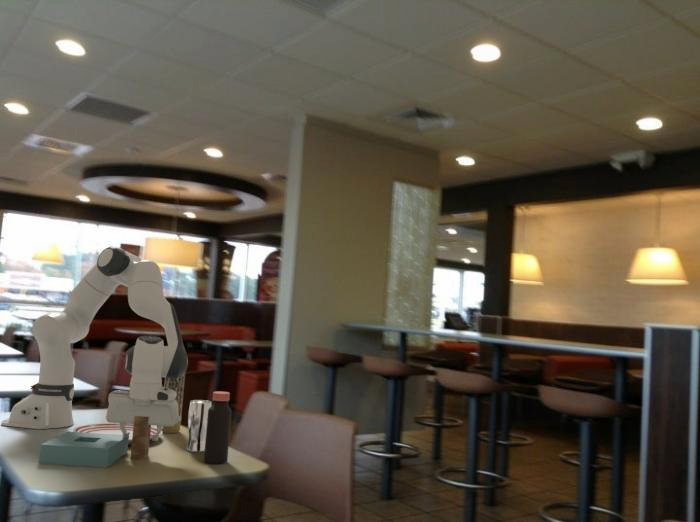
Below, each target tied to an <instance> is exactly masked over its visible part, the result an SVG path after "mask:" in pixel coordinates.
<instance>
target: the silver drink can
mask: <svg viewBox="0 0 700 522" xmlns="http://www.w3.org/2000/svg"><path fill="white" fill-rule="evenodd" d="M211 406H212V401H210V400H204V399H193V400H190V401H189V408H188V415H187V425H188V426H187V427H188V443H187V445H186V451H187V452H190V453H203V452H205V441H206V429H207V418H208V410H209V408H210V407H211Z"/></svg>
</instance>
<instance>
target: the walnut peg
mask: <svg viewBox="0 0 700 522" xmlns="http://www.w3.org/2000/svg"><path fill="white" fill-rule="evenodd" d="M148 419H149V417H143V416H134V427H133V437H132V445H131V446H130V447H131V449H130V459H131V460H133V459H134V460H145V459H147V458H148V457H149V453H150V452H149V451H150V432H151V427H152V425H148Z"/></svg>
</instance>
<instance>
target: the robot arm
mask: <svg viewBox="0 0 700 522" xmlns="http://www.w3.org/2000/svg"><path fill="white" fill-rule="evenodd" d="M96 262H97V263H96V264H95V265H93V266H92V267H91V268H90V270H88V271H87V272H86V273H85V275H84V276H83V277H82V278H81V279H80V281H79V282H78V283H77V284H76V286H75V287H74V288H73V289H72V290H71V291H70V294H69V300H68V303H67V304H66V306H65V308H64V309H63V310H62V311H61V312H49V313H46V314H43V315H41V316H39V317H37V318H36V320H35V321H34V322H33V324H32V329H31V332H32V335H33V337H34V339H35V340H36V343H37V346H38V349H39V357H40V359H39V360H40V363H39V364H40V365H39V375H38V382H37V383H34V384H33V385H31V386H30V390H31V394H29V395H27V396H26V397H25V398H23V399H21V400H19V401H18V402H17V403H15V404H14V405H13V407H12V408H11V411H10V413H9V418H5V419H3V420H2V421H1V426H6V427H15V428H25V429H31V430H32V429H35V430H47V429H58V428H66V427H67V428H68V427H70V426H73V425H74V417H73V405H72V404H73V403H72V401H73V398H74V394H75V384H74V380H75V379H74V377H75V370H76V369H75V368H76V367H75V366H76V360H75V358H74V357H73V354H72V350H71V344H75V343H77V342H79V341H81V340H83V339H85V338H86V337H87V335H88V334H89V331H90V325H91V324H92V321H94V318H95V316H96V314H97V313H98V311H99V310H100V308H101V307H102V306H103V305H104V303H106V301H107V300H108V299H109V298H110V296H111V295H112V294H113V293H114V291H116V289H117V288H118V287H119V286H120V285H122V286H124V287H127V300H128V305H129V307H130V309H131V310H132V311H133V312H134V313H135V314H137V316H140V317H142V318H144V319H148V320H151V321H153V322H155V323H157V324H158V325H160V326H161V327H162V328H163V329H164V333H165V337H166V342H167V345H164V344H165V343H164V342H165V341H164V339H162V338H161V337H160V336H156V335H142V336H138V337H137V339H136V342H135V345H133V346H131V347H130V348H128V349H127V350H126V355H125V365H124V370H125V371H126V372H127V373H128V374H129V375H130V376H131V377H130V383H129V390H119V389H115V390H114V391H111V392H110V393H108V399H107V401H108V406H107V407H108V408H107V411H106V416H105V420H106V421H107V423H120V429H121V431H122V433H123V437H122V439H129V434H130V432H127V431H126V428H125V426H126V425H127V424H134V416H143V417H149V419H148V425H151V426H156V428H157V429H159V430H158V431H157V433H156V434H153V435H152V439H151V442H157V441H159V437H160V436H159V433H160V432H161V431H162V429H163V426H171V427H173V426H175V425H176V424H177V423H178V418H179V409H178V403H177V401H176V400H175V398H176V396H177V392H176V391H174V390H171V389H168V388H166V387H164V386H163V383H162V382H163V379H162V378H165V377H166V378H172V379H177V378H178V377H180V376H181V375H183V374H184V373H185V374H186V371H187V369H188V364H189V362H188V361H189V359H188V356H187V355H188V354H187V351H186V348H185V345H184V343H183V338H182V333H181V329H180V325H179V320H178V317H177V313H176V309H175V307H174V305H173V304H172V303H170V302H169V301H168V300H167V299H166V297H165V295H164V288H163V287H164V284H163V277H162V271H161V269H160V267H159V265H158V263H156V262H155V261H152V260H148V259H143V258H141V257H139V256H137V255H134V254H133V253H131V252H128V251H126V250H124V249H123V248H121V247H118V246H114V245H110V246H108V247H107V248H105V249H103V250H102V251H101V252H100V254H99V256H98V257H97V261H96Z"/></svg>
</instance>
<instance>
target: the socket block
mask: <svg viewBox="0 0 700 522" xmlns="http://www.w3.org/2000/svg"><path fill="white" fill-rule="evenodd" d="M122 437H123V435H116V434H100V433H83V432H73V431H66V432H64V433H62V434H59V435H57V436H55V437H53V438H52V439H49V440H47V441H45V442H43V443H41V444H40V449H39V457H38V464H41V465H60V466H72V467H73V466H76V467H90V466H91V468H109V467H110V466H112V464H113V463H115V462H116V461H118V460H119V459H120V458H122V457H123V456H124V455H125V454H127V453H128V449H129V448H128V447H129V445H128V439H122Z"/></svg>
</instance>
